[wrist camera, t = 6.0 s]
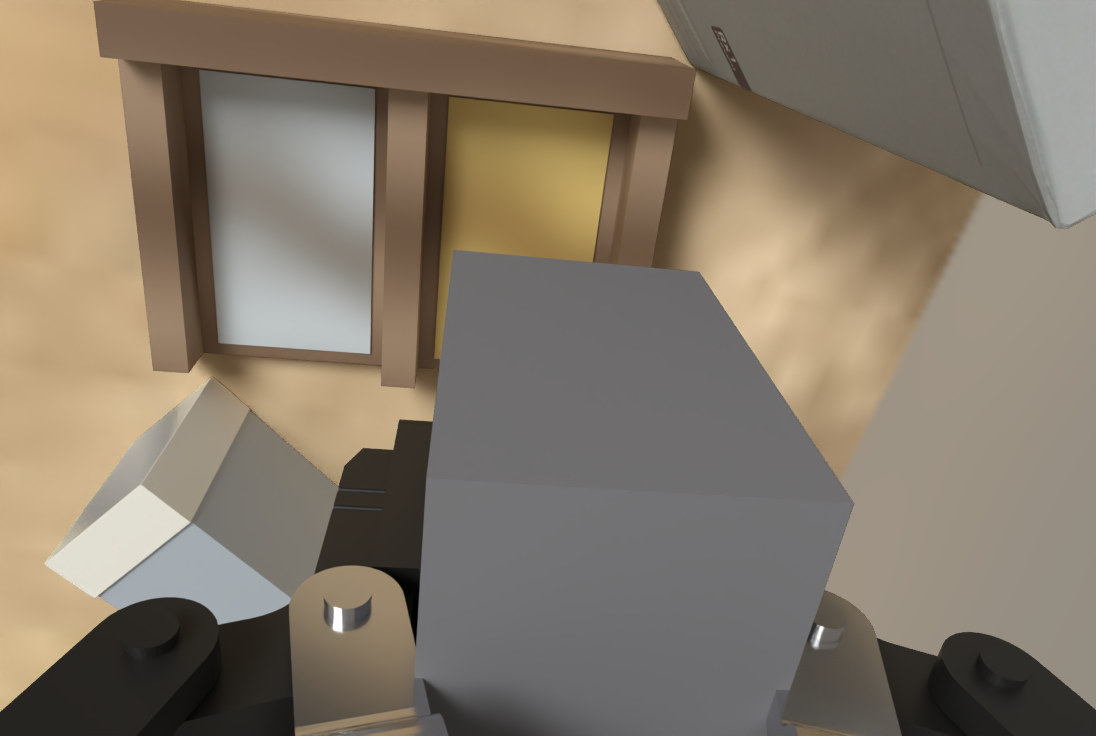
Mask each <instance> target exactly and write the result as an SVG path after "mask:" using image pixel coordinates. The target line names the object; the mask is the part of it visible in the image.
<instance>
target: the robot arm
mask: <svg viewBox="0 0 1096 736" xmlns="http://www.w3.org/2000/svg"><path fill="white" fill-rule="evenodd" d="M432 426H433V422H429V421H414V420H399V424H398V429H397V434H396V439H395V445H394V450H385V449H369V448H363V449H362V450H361V451H360V452H359V453H358V454H357V455H356V456H354V457H353V458H352V459H351V460H350V461H349V462H348V463H347V464H346V465H345V466H344V470H343V473H342V477H341V480H340V484H339V488H338V491H337V495H336V498H335V502H334V507H333V509H332V512H331V516H330V519H329V523H328V527H327V530H326V534H325V537H324V541H323V544H322V548H321V551H320V555H319V559H318V562H317V566H316V569H315V573H314V575H313V576H311V577H309V578H308V579H307V580H305V581H304V582H303V583H302V584H301V585H300V586H299V587H298V588H297V589H296V590H295V592H294V594H293V595H292V597H291V600H290V603H289V604H288V605H286V606H284V607H282V608H280V609H278V610H276V611H274V612H271V613H268V614H266V615H262V616H258V617H254V618H250V619H245V620H240V621H235V622H229V623H224V624H219V625H218V623H217V619H216V618H215V616H214V614H213V613H212V612H211V611H210V610H209V609H208V608H207V607H205V606H204V605H202V604H200V603H198V602H196V601H193V600H189V599H185V598H177V597H162V598H154V599H149V600H144V601H140V602H137V603H134V604H132V605H129V606H127V607H125V608H122V609H120V610H118V611H117V612H115V613H113V614H112V615H110V616H109V617H107V618H106V619H105V620H103V621H102V622H101V623H100V624H99V625H97V626H96V627H95V628H94V629H93V630H92V631H91V632H90V633H88V634H87V635H86V636H85V637H84V638H83V639H82V640H81V641H79V642H78V643H77V644H76V645H75V646H74V647H73V648H72V649H70V650H69V651H68V652H67V653H66V654H65V655H64V656H63V657H61V658H60V659H59V660H58V661H57V662H56V663H55V664H54V665H52V666H51V667H50V668H49V669H48V670H47V671H46V672H45V673H43V674H42V675H41V676H40V677H39V678H38V679H37V680H36V681H35V682H33V683H32V684H31V685H30V686H29V687H28V688H27V689H26V690H24V691H23V692H22V693H21V694H20V695H19V696H18V697H17V698H15V699H14V700H13V701H12V702H11V703H10V704H9V705H8V706H6V707H5V708H4V709H3V710H2V711H1V712H0V736H448V732H447V729H446V725H445V722H444V720H443V718H442V716H441V714H440V713H435V714H431V711H430V708H429V704H428V699H427V695H426V690H425V686H424V681H423V678H414V673H415V657H416V640H417V624H418V607H419V591H420V574H421V558H422V541H423V525H424V508H425V492H426V477H427V468H428V460H429V451H430V443H431V434H432ZM766 728H767V736H1096V710H1095V709H1094V708H1093V707H1092V706H1090V705H1089V704H1088V703H1087V702H1086V701H1084V700H1083V699H1082V698H1081V697H1080V696H1079V695H1077V694H1076V693H1075V692H1074V691H1072V690H1071V689H1070V688H1069V687H1068V686H1066V685H1065V684H1064V683H1063V682H1062V681H1061V680H1059V679H1058V678H1057V677H1056V676H1055V675H1053V674H1052V673H1051V672H1050V671H1049V670H1047V669H1046V668H1045V667H1044V666H1043V665H1041V664H1040V663H1039V662H1038V661H1037V660H1035V659H1034V658H1033V657H1032V656H1030V655H1029V654H1028V653H1026V652H1024V651H1023V650H1021V649H1020V648H1018V647H1016V646H1014V645H1012V644H1010V643H1009V642H1006V641H1004V640H1002V639H999V638H996V637H993V636H990V635H986V634H981V633H974V632H963V633H957V634H954V635H952V636H950V637H949V638H947V639H946V640H945V642H944V643H943V646H942V648H941V650H940V652H939V654H938V656H934V655H931V654H927V653H924V652H920V651H916V650H913V649H909V648H906V647H902V646H899V645H895V644H892V643H889V642H886V641H883V640H880V639H878V638H876V634H875V631H874V629H873V626H872V625H871V623H870V621H869V620H868V619H867V618H866V616H865V615H864V614H863V613H862V612H861V611H860V610H859V609H858V608H856V607H855V606H854V605H852V604H851V603H850V602H848V601H846V600H845V599H843V598H841V597H839V596H837V595H835V594H833V593H830V592H828V591H825V590H824V592H823V595H822V598H821V601H820V604H819V607H818V610H817V613H816V616H815V618H814V621H813V624H812V627H811V630H810V633H809V636H808V639H807V642H806V644H805V647H804V650H803V653H802V656H801V659H800V662H799V665H798V668H797V670H796V673H795V676H794V679H793V682H792V685H791V688H790V690H776V692H775V695H774V698H773V701H772V704H771V707H770V710H769V713H768V716H767V719H766Z"/></svg>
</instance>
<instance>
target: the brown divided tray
mask: <svg viewBox="0 0 1096 736" xmlns="http://www.w3.org/2000/svg"><path fill="white" fill-rule="evenodd" d="M93 2H94V10H95V18H96V26H97V35H98V43H99V51H100V57H106V58H115V59H118V62H119V71H120V80H121V89H122V98H123V107H124V116H125V125H126V134H127V142H128V151H129V160H130V169H131V178H132V187H133V196H134V205H135V214H136V222H137V231H138V240H139V249H140V258H141V267H142V276H143V285H144V294H145V302H146V311H147V320H148V329H149V338H150V347H151V356H152V365H153V371H165V372H180V373H189V372H190V370H191V369H192V368H193V366H194V365H195V363H196V362H197V361H198V359H199V358H200V357H201V355H202V354H203V353H216V354H230V355H244V356H258V357H273V358H287V359H301V360H315V361H330V362H344V363H358V364H372V365H382V371H381V386H387V387H402V388H415V382H416V376H417V370H418V368H429V369H439V366H440V358H441V349H442V341H443V332H444V324H445V315H446V307H447V298H448V290H449V281H450V273H451V264H452V256H453V250H462V251H473V252H484V253H495V254H506V255H517V256H528V257H540V258H551V259H562V260H573V261H584V262H595V263H606V264H617V265H628V266H639V267H650V268H651V267H652V262H653V256H654V250H655V245H656V239H657V234H658V228H659V222H660V217H661V211H662V206H663V200H664V194H665V189H666V183H667V178H668V172H669V166H670V161H671V155H672V150H673V144H674V138H675V133H676V127H677V122H678V119H681V120H687V119H688V113H689V108H690V102H691V97H692V92H693V86H694V81H695V75H696V70H694V69H692V68H691V67H689V66H687V65H685V64H683V63H681V62H679V61H677V60H675V59H674V58H672V57H663V56H654V55H646V54H637V53H629V52H620V51H611V50H603V49H594V48H585V47H577V46H568V45H560V44H551V43H542V42H534V41H525V40H517V39H508V38H499V37H491V36H482V35H474V34H465V33H456V32H448V31H439V30H431V29H422V28H413V27H405V26H396V25H388V24H379V23H370V22H362V21H353V20H345V19H336V18H327V17H319V16H310V15H302V14H293V13H284V12H276V11H267V10H259V9H250V8H241V7H233V6H224V5H216V4H207V3H198V2H190V1H181V0H101V1H93Z"/></svg>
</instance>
